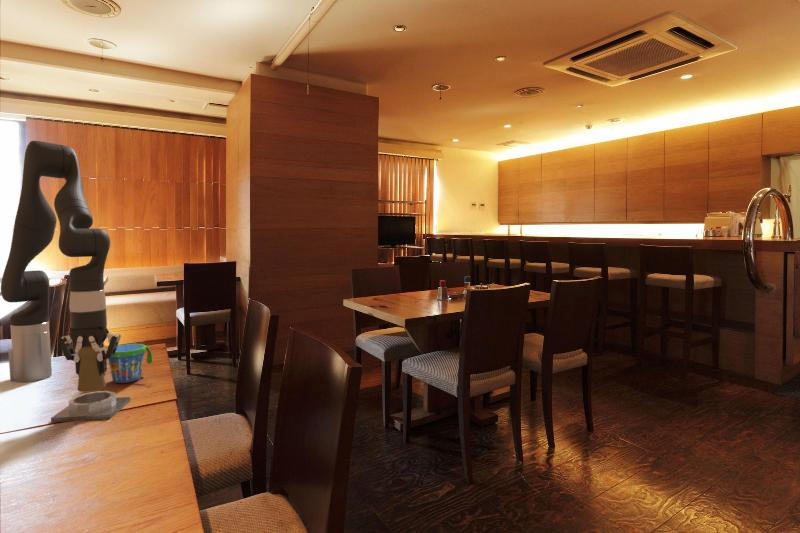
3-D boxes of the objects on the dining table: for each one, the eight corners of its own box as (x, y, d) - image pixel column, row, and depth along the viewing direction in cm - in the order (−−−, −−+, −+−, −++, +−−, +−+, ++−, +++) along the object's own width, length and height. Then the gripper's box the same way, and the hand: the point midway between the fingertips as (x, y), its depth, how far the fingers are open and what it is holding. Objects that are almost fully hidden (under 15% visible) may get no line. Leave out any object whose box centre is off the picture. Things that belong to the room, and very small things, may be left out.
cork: (91, 392, 113) (89, 348, 112) (71, 390, 114) (68, 347, 113) (111, 384, 119) (109, 342, 118) (92, 382, 120) (90, 341, 119)
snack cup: (143, 370, 150) (142, 340, 149) (161, 376, 144) (160, 344, 143) (91, 383, 137) (89, 350, 136) (108, 390, 131) (107, 355, 130)
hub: (51, 422, 110) (50, 408, 109) (77, 403, 122) (76, 390, 121) (110, 418, 112) (109, 405, 112) (130, 400, 124) (130, 388, 123)
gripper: (125, 305, 120) (128, 369, 121) (65, 306, 117) (68, 372, 119) (112, 310, 112) (115, 378, 113) (47, 311, 110) (51, 381, 111)
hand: (91, 374), depth 116 cm, fingers closed on cork, 4 cm apart
